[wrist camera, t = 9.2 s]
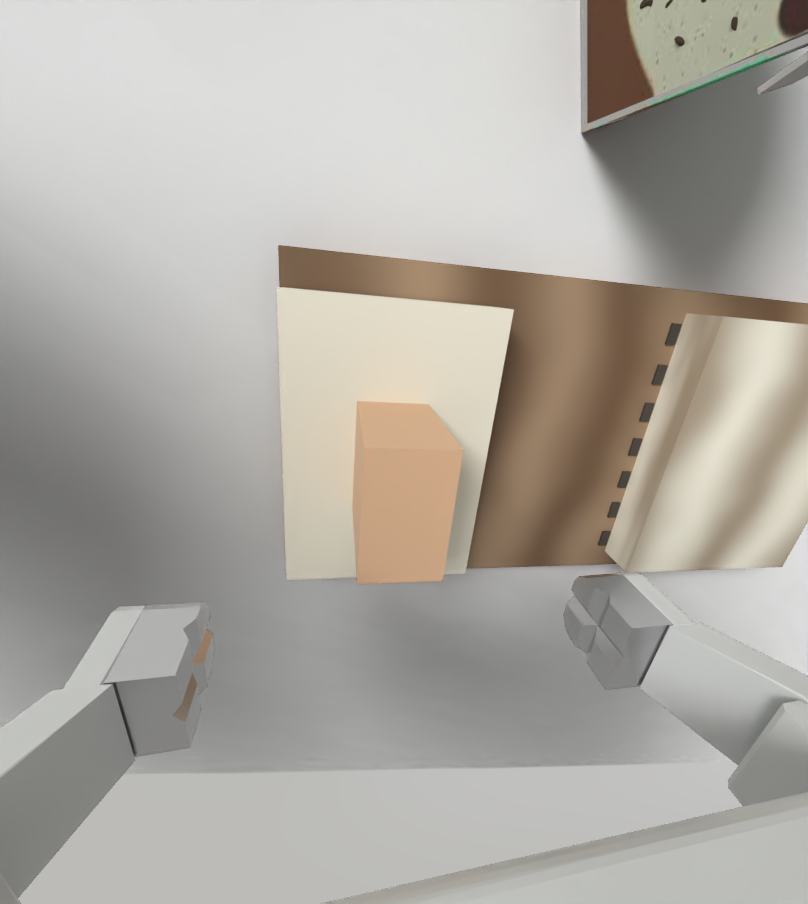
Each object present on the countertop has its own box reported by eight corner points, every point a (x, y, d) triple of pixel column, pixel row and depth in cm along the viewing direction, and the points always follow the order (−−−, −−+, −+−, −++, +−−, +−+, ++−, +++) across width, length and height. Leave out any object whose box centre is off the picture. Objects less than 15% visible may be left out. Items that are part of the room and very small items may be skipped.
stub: (290, 554, 21) (269, 674, 14) (283, 287, 16) (246, 288, 9) (454, 549, 22) (501, 656, 16) (495, 306, 17) (587, 319, 11)
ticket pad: (291, 556, 23) (284, 601, 19) (283, 248, 17) (270, 239, 13) (736, 545, 28) (787, 579, 25) (853, 310, 22) (940, 315, 19)
